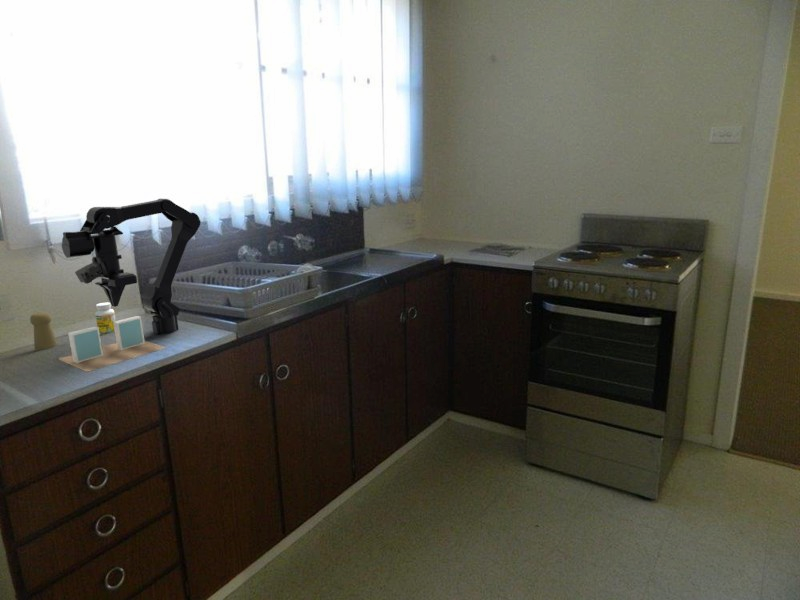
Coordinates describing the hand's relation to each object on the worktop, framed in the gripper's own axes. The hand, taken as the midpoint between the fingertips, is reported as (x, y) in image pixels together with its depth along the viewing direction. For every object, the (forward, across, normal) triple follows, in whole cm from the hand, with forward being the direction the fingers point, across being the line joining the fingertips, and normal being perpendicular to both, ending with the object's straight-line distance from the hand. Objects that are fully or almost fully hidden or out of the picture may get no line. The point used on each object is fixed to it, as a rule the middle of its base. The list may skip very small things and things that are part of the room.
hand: (114, 306), depth 168 cm
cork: (+12, -16, -14) cm, 25 cm away
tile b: (+11, +6, -12) cm, 17 cm away
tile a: (+11, +6, 0) cm, 13 cm away
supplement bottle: (+12, -16, +4) cm, 21 cm away
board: (+12, +8, -6) cm, 15 cm away
